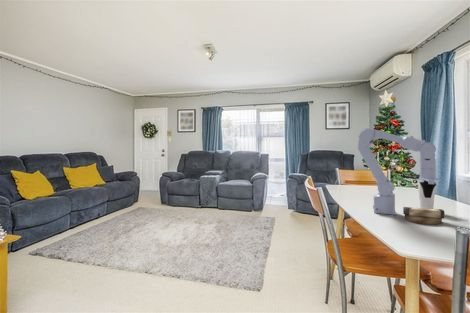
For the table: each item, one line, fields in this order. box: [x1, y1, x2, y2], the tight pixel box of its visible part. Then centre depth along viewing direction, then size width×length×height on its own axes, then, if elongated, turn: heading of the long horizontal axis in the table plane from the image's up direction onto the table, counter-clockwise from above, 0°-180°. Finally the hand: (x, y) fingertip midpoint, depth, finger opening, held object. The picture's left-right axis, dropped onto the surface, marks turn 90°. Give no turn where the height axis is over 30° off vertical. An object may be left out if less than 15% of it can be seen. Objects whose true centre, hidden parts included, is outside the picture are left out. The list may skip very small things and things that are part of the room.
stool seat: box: [404, 214, 443, 226], centre depth 106 cm, size 13×13×4 cm
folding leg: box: [402, 206, 445, 220], centre depth 105 cm, size 14×3×3 cm, turn 61°
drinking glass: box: [417, 180, 436, 209], centre depth 120 cm, size 7×7×15 cm
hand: (427, 197), depth 109 cm, fingers closed
